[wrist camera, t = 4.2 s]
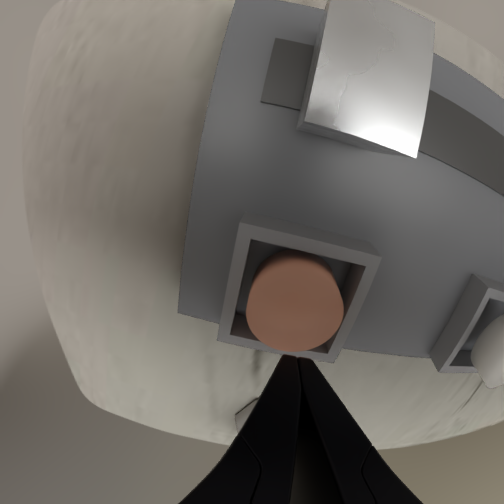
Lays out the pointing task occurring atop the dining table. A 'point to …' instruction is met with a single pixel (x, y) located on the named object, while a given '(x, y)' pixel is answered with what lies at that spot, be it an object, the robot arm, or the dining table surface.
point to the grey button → (490, 353)
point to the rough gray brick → (370, 76)
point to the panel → (346, 202)
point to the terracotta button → (294, 302)
